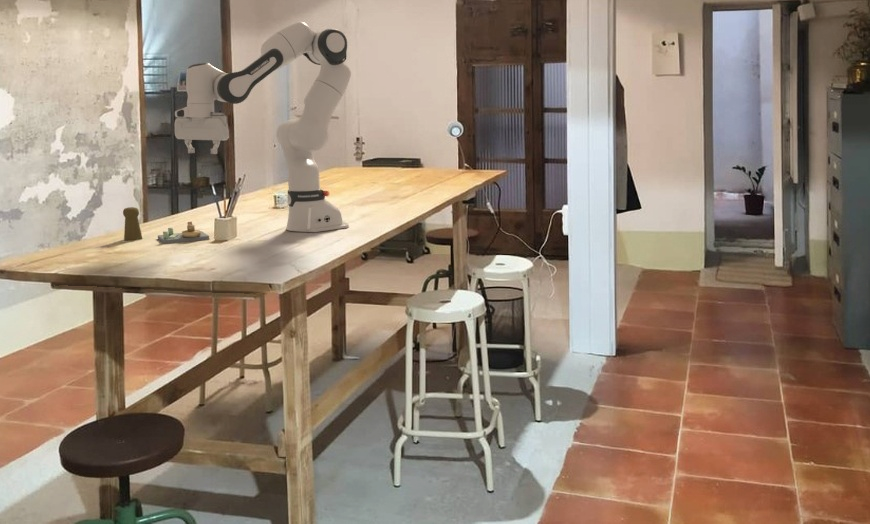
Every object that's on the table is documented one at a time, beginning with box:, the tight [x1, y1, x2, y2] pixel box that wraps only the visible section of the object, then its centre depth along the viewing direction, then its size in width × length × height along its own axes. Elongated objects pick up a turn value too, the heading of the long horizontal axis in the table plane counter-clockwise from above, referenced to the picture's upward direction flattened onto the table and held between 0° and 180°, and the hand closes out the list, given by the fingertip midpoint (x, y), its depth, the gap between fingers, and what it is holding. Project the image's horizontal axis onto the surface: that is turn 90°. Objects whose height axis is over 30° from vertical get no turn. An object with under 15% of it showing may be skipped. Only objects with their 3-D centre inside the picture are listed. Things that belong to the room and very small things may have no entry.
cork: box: [122, 206, 143, 242], centre depth 306 cm, size 6×6×11 cm
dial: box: [181, 221, 201, 237], centre depth 305 cm, size 10×6×4 cm, turn 18°
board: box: [157, 227, 210, 245], centre depth 305 cm, size 15×11×4 cm
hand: (202, 153), depth 302 cm, fingers open, 8 cm apart
